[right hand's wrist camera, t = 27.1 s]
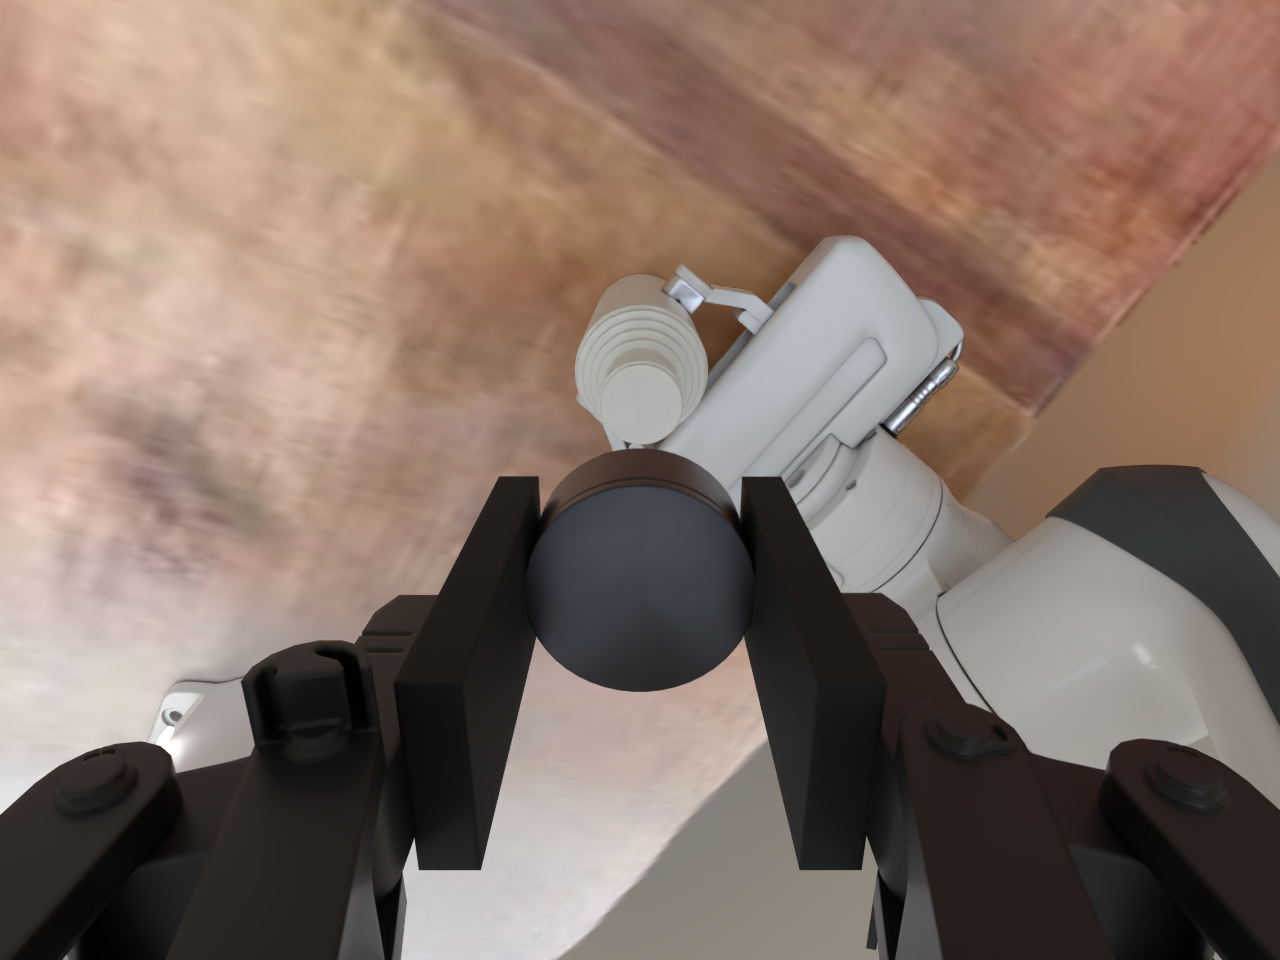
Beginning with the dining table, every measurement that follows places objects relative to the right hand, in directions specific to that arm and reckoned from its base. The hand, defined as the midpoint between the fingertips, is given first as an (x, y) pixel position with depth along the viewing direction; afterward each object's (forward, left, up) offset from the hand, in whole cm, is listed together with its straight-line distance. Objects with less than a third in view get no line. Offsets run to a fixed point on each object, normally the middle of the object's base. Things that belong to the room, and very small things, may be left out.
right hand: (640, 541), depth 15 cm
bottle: (0, 0, -29) cm, 29 cm away
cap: (0, 0, +2) cm, 2 cm away
